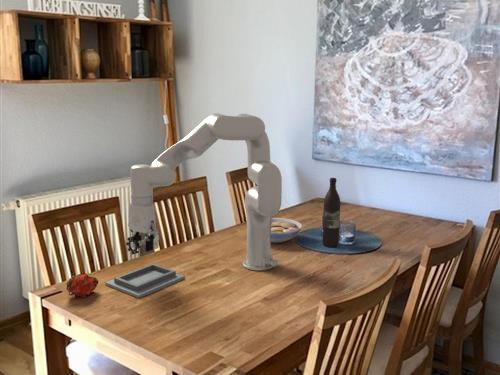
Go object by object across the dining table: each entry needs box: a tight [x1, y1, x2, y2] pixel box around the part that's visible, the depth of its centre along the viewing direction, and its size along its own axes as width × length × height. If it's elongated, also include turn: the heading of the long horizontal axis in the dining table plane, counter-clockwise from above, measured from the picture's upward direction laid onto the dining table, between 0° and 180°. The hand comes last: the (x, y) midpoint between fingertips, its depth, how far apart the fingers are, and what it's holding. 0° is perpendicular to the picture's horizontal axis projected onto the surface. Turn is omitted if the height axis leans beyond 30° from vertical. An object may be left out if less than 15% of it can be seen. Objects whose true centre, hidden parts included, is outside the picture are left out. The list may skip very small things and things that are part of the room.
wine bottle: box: [321, 177, 341, 248], centre depth 236 cm, size 7×7×30 cm
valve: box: [125, 233, 160, 255], centre depth 195 cm, size 7×7×12 cm
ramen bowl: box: [271, 217, 303, 244], centre depth 244 cm, size 25×23×8 cm
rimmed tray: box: [104, 263, 186, 299], centre depth 198 cm, size 18×22×3 cm
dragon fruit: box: [65, 273, 99, 298], centre depth 186 cm, size 8×8×12 cm
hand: (143, 248), depth 195 cm, fingers closed on valve, 5 cm apart
